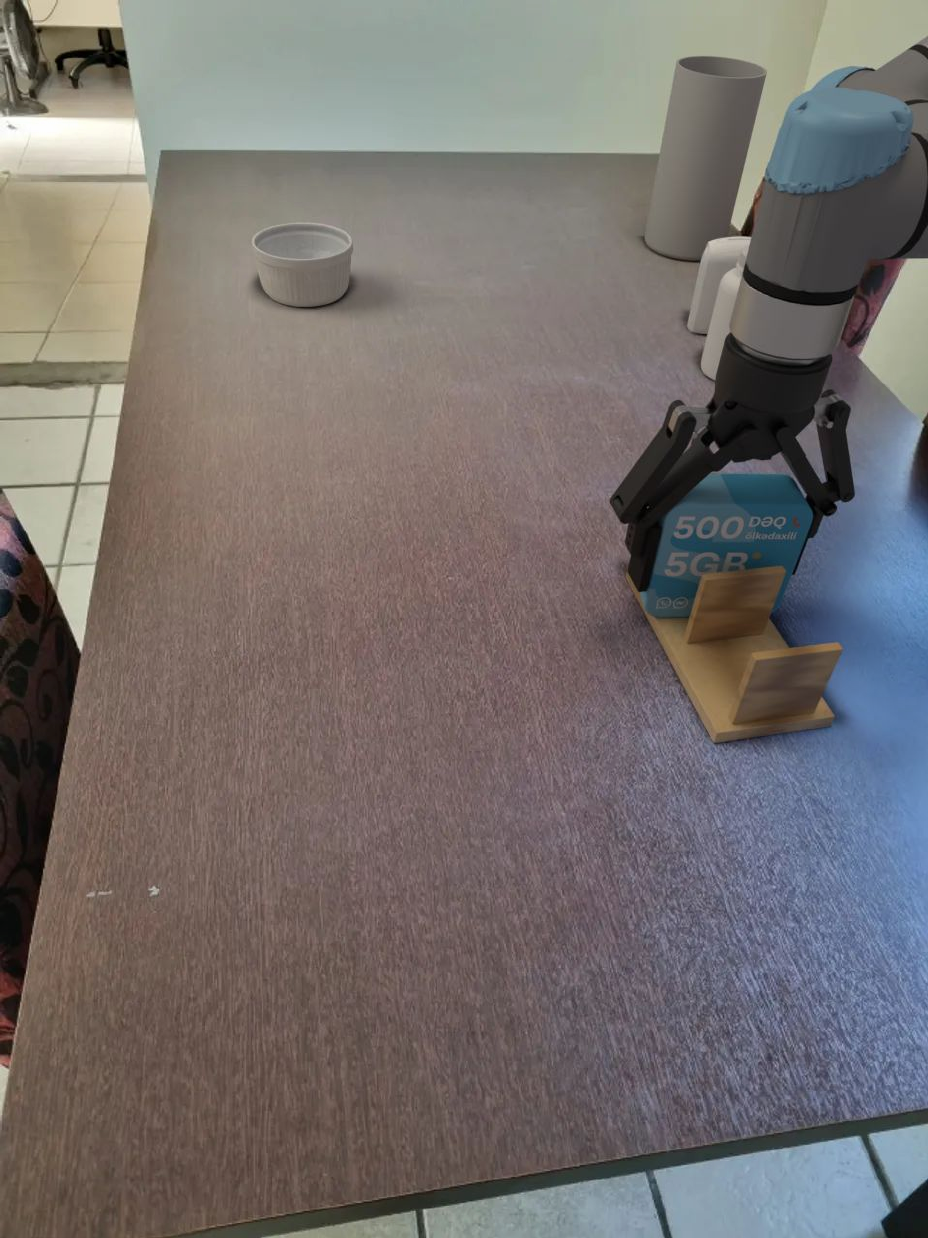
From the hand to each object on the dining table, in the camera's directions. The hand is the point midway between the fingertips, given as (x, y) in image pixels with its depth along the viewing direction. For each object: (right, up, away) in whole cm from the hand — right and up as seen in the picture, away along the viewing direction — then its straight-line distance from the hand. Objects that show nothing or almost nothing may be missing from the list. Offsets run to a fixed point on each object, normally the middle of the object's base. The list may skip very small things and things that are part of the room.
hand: (711, 573), depth 80 cm
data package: (0, -2, +2) cm, 3 cm away
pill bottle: (+12, +27, +37) cm, 47 cm away
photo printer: (+14, +35, +45) cm, 59 cm away
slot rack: (+1, -6, 0) cm, 6 cm away
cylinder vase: (+13, +55, +67) cm, 88 cm away
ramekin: (-43, +41, +48) cm, 76 cm away
